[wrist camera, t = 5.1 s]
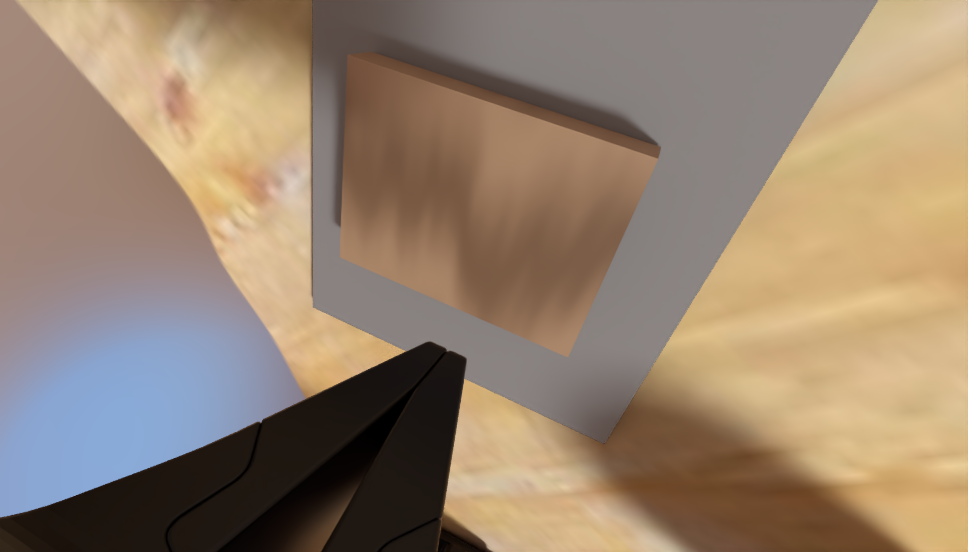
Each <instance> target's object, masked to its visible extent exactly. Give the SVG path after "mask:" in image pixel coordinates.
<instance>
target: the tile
mask: <svg viewBox="0 0 968 552" xmlns="http://www.w3.org/2000/svg"><path fill="white" fill-rule="evenodd" d="M660 150H661V147H660V146H657V145H653V144H650V143H647V142H644V141H641V140H638V139H635V138H632V137H629V136H626V135H623V134H620V133H617V132H614V131H611V130H608V129H605V128H602V127H599V126H596V125H593V124H590V123H587V122H584V121H581V120H578V119H575V118H571V117H568V116H565V115H562V114H559V113H556V112H553V111H550V110H547V109H544V108H541V107H538V106H535V105H532V104H529V103H526V102H523V101H520V100H517V99H514V98H511V97H508V96H505V95H502V94H499V93H496V92H492V91H489V90H486V89H483V88H480V87H477V86H474V85H471V84H468V83H465V82H462V81H459V80H456V79H453V78H450V77H447V76H444V75H441V74H438V73H435V72H432V71H429V70H426V69H423V68H420V67H417V66H414V65H410V64H407V63H404V62H401V61H398V60H395V59H392V58H389V57H386V56H383V55H380V54H377V53H374V52H365V53H358V54H350V55H348V57H347V83H346V108H345V133H344V159H343V184H342V210H341V235H340V258H342V259H345V260H347V261H349V262H351V263H354V264H356V265H358V266H361V267H363V268H365V269H367V270H370V271H372V272H374V273H377V274H379V275H381V276H383V277H386V278H388V279H390V280H393V281H395V282H397V283H399V284H402V285H404V286H406V287H408V288H411V289H413V290H415V291H418V292H420V293H422V294H424V295H427V296H429V297H431V298H434V299H436V300H438V301H440V302H443V303H445V304H447V305H450V306H452V307H454V308H456V309H459V310H461V311H463V312H465V313H468V314H470V315H472V316H475V317H477V318H479V319H481V320H484V321H486V322H488V323H491V324H493V325H495V326H497V327H500V328H502V329H504V330H506V331H509V332H511V333H513V334H516V335H518V336H520V337H522V338H525V339H527V340H529V341H532V342H534V343H536V344H538V345H541V346H543V347H545V348H548V349H550V350H552V351H554V352H557V353H559V354H561V355H563V356H566V357H568V356H569V354H570V352H571V350H572V348H573V345H574V343H575V341H576V339H577V337H578V334H579V332H580V330H581V328H582V326H583V323H584V321H585V319H586V317H587V315H588V312H589V310H590V308H591V306H592V304H593V301H594V299H595V297H596V295H597V293H598V290H599V288H600V286H601V284H602V282H603V279H604V277H605V275H606V273H607V271H608V269H609V266H610V264H611V262H612V260H613V258H614V255H615V253H616V251H617V249H618V247H619V244H620V242H621V240H622V238H623V236H624V233H625V231H626V229H627V227H628V225H629V222H630V220H631V218H632V216H633V214H634V211H635V209H636V207H637V205H638V203H639V200H640V198H641V196H642V194H643V192H644V189H645V187H646V185H647V183H648V181H649V179H650V176H651V174H652V172H653V170H654V168H655V165H656V163H657V161H658V159H659V154H660Z"/></svg>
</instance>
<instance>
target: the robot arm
mask: <svg viewBox="0 0 968 552" xmlns="http://www.w3.org/2000/svg"><path fill="white" fill-rule="evenodd" d="M466 364H467V358H466V357H464V356H462V355H460V354H458V353H456V352H453V351H447V349H446V348H445V347H442V346H440V345H438V344H436V343H434V342H431V341H428V342H425V343H423V344H421V345H419V346H417V347H414V348H412V349H410V350H408V351H406V352H404V353H402V354H400V355H398V356H395V357H393V358H391V359H389V360H387V361H385V362H383V363H381V364H379V365H377V366H374V367H372V368H370V369H368V370H366V371H364V372H362V373H360V374H358V375H355V376H353V377H351V378H349V379H347V380H345V381H343V382H341V383H339V384H336V385H334V386H332V387H330V388H328V389H326V390H324V391H322V392H320V393H317V394H315V395H313V396H311V397H309V398H307V399H305V400H303V401H301V402H299V403H297V404H294V405H292V406H290V407H288V408H286V409H284V410H282V411H280V412H278V413H275V414H273V415H271V416H269V417H267V418H265V419H263V420H262V423H260V422H256V423H254V424H252V425H250V426H248V427H246V428H243V429H241V430H240V431H237V432H235V433H233V434H230V435H228V436H226V437H224V438H221V439H219V440H217V441H215V442H212V443H210V444H208V445H206V446H204V447H201V448H199V449H196V450H194V451H192V452H189V453H186V454H184V455H181V456H179V457H177V458H174V459H171V460H168V461H166V462H164V463H161V464H158V465H156V466H153V467H150V468H148V469H145V470H142V471H140V472H137V473H134V474H132V475H129V476H126V477H124V478H121V479H118V480H116V481H113V482H110V483H108V484H105V485H102V486H100V487H97V488H94V489H92V490H89V491H86V492H84V493H81V494H79V495H76V496H73V497H70V498H68V499H65V500H62V501H59V502H56V503H53V504H51V505H48V506H45V507H41V508H38V509H34V510H31V511H28V512H23V513H19V514H15V515H10V516H6V517H0V552H480V551H479V550H477V549H475V548H473V547H471V546H469V545H468V544H466V543H464V542H462V541H460V540H458V539H457V538H455V537H453V536H451V535H449V534H448V533H446V532H444V531H442V530H441V525H442V522H441V520H442V517H443V510H444V504H445V498H446V491H447V485H448V479H449V472H450V466H451V460H452V453H453V447H454V441H455V434H456V428H457V422H458V415H459V409H460V403H461V396H462V390H463V384H464V377H465V371H466Z"/></svg>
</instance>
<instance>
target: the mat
mask: <svg viewBox="0 0 968 552" xmlns="http://www.w3.org/2000/svg"><path fill="white" fill-rule="evenodd" d="M877 1H878V0H313V308H316V309H318V310H320V311H322V312H324V313H326V314H328V315H331V316H333V317H335V318H337V319H339V320H341V321H343V322H345V323H348V324H350V325H352V326H354V327H356V328H358V329H360V330H362V331H365V332H367V333H369V334H371V335H373V336H375V337H377V338H379V339H382V340H384V341H386V342H388V343H390V344H392V345H394V346H396V347H399V348H401V349H403V350H405V351H408V350H410V349H412V348H414V347H417V346H419V345H421V344H423V343H425V342H428V341H431V342H434V343H436V344H438V345H440V346H442V347H445V348H446V349H447V351H453V352H456V353H458V354H460V355H462V356H464V357H466V358H467V364H466V371H465V377H464V379H467V380H469V381H471V382H473V383H475V384H477V385H479V386H481V387H484V388H486V389H488V390H490V391H492V392H494V393H496V394H498V395H501V396H503V397H505V398H507V399H509V400H511V401H513V402H516V403H518V404H520V405H522V406H524V407H526V408H528V409H530V410H533V411H535V412H537V413H539V414H541V415H543V416H545V417H547V418H550V419H552V420H554V421H556V422H558V423H560V424H562V425H564V426H567V427H569V428H571V429H573V430H575V431H577V432H579V433H581V434H584V435H586V436H588V437H590V438H592V439H594V440H596V441H598V442H601V443H603V444H605V442H606V441H607V439H608V438H609V436H610V434H611V433H612V431H613V429H614V428H615V426H616V425H617V423H618V421H619V420H620V418H621V416H622V415H623V413H624V412H625V410H626V408H627V407H628V405H629V403H630V402H631V400H632V399H633V397H634V395H635V394H636V392H637V390H638V389H639V387H640V386H641V384H642V382H643V381H644V379H645V378H646V376H647V374H648V373H649V371H650V369H651V368H652V366H653V365H654V363H655V361H656V360H657V358H658V356H659V355H660V353H661V352H662V350H663V348H664V347H665V345H666V343H667V342H668V340H669V339H670V337H671V335H672V334H673V332H674V330H675V329H676V327H677V326H678V324H679V322H680V321H681V319H682V318H683V316H684V314H685V313H686V311H687V309H688V308H689V306H690V305H691V303H692V301H693V300H694V298H695V296H696V295H697V293H698V292H699V290H700V288H701V287H702V285H703V283H704V282H705V280H706V279H707V277H708V275H709V274H710V272H711V270H712V269H713V267H714V266H715V264H716V262H717V261H718V259H719V257H720V256H721V254H722V253H723V251H724V249H725V248H726V246H727V245H728V243H729V241H730V240H731V238H732V236H733V235H734V233H735V232H736V230H737V228H738V227H739V225H740V223H741V222H742V220H743V219H744V217H745V215H746V214H747V212H748V210H749V209H750V207H751V206H752V204H753V202H754V201H755V199H756V197H757V196H758V194H759V193H760V191H761V189H762V188H763V186H764V185H765V183H766V181H767V180H768V178H769V176H770V175H771V173H772V172H773V170H774V168H775V167H776V165H777V163H778V162H779V160H780V159H781V157H782V155H783V154H784V152H785V150H786V149H787V147H788V146H789V144H790V142H791V141H792V139H793V137H794V136H795V134H796V133H797V131H798V129H799V128H800V126H801V124H802V123H803V121H804V120H805V118H806V116H807V115H808V113H809V112H810V110H811V108H812V107H813V105H814V103H815V102H816V100H817V99H818V97H819V95H820V94H821V92H822V90H823V89H824V87H825V86H826V84H827V82H828V81H829V79H830V77H831V76H832V74H833V73H834V71H835V69H836V68H837V66H838V64H839V63H840V61H841V60H842V58H843V56H844V55H845V53H846V52H847V50H848V48H849V47H850V45H851V43H852V42H853V40H854V39H855V37H856V35H857V34H858V32H859V30H860V29H861V27H862V26H863V24H864V22H865V21H866V19H867V17H868V16H869V14H870V13H871V11H872V9H873V8H874V6H875V4H876V3H877ZM365 52H374V53H377V54H380V55H383V56H386V57H389V58H392V59H395V60H398V61H401V62H404V63H407V64H410V65H414V66H417V67H420V68H423V69H426V70H429V71H432V72H435V73H438V74H441V75H444V76H447V77H450V78H453V79H456V80H459V81H462V82H465V83H468V84H471V85H474V86H477V87H480V88H483V89H486V90H489V91H492V92H496V93H499V94H502V95H505V96H508V97H511V98H514V99H517V100H520V101H523V102H526V103H529V104H532V105H535V106H538V107H541V108H544V109H547V110H550V111H553V112H556V113H559V114H562V115H565V116H568V117H571V118H575V119H578V120H581V121H584V122H587V123H590V124H593V125H596V126H599V127H602V128H605V129H608V130H611V131H614V132H617V133H620V134H623V135H626V136H629V137H632V138H635V139H638V140H641V141H644V142H647V143H650V144H653V145H657V146H660V147H661V150H660V154H659V159H658V161H657V163H656V165H655V168H654V170H653V172H652V174H651V176H650V179H649V181H648V183H647V185H646V187H645V189H644V192H643V194H642V196H641V198H640V200H639V203H638V205H637V207H636V209H635V211H634V214H633V216H632V218H631V220H630V222H629V225H628V227H627V229H626V231H625V233H624V236H623V238H622V240H621V242H620V244H619V247H618V249H617V251H616V253H615V255H614V258H613V260H612V262H611V264H610V266H609V269H608V271H607V273H606V275H605V277H604V279H603V282H602V284H601V286H600V288H599V290H598V293H597V295H596V297H595V299H594V301H593V304H592V306H591V308H590V310H589V312H588V315H587V317H586V319H585V321H584V323H583V326H582V328H581V330H580V332H579V334H578V337H577V339H576V341H575V343H574V345H573V348H572V350H571V352H570V354H569V356H568V357H566V356H563V355H561V354H559V353H557V352H554V351H552V350H550V349H548V348H545V347H543V346H541V345H538V344H536V343H534V342H532V341H529V340H527V339H525V338H522V337H520V336H518V335H516V334H513V333H511V332H509V331H506V330H504V329H502V328H500V327H497V326H495V325H493V324H491V323H488V322H486V321H484V320H481V319H479V318H477V317H475V316H472V315H470V314H468V313H465V312H463V311H461V310H459V309H456V308H454V307H452V306H450V305H447V304H445V303H443V302H440V301H438V300H436V299H434V298H431V297H429V296H427V295H424V294H422V293H420V292H418V291H415V290H413V289H411V288H408V287H406V286H404V285H402V284H399V283H397V282H395V281H393V280H390V279H388V278H386V277H383V276H381V275H379V274H377V273H374V272H372V271H370V270H367V269H365V268H363V267H361V266H358V265H356V264H354V263H351V262H349V261H347V260H345V259H342V258H340V235H341V210H342V184H343V159H344V133H345V108H346V83H347V57H348V55H350V54H358V53H365Z"/></svg>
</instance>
